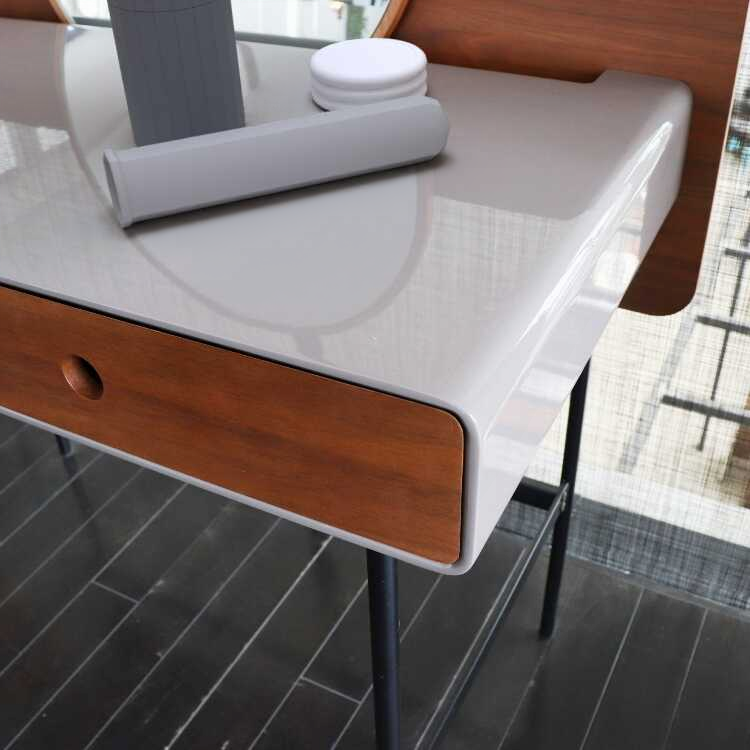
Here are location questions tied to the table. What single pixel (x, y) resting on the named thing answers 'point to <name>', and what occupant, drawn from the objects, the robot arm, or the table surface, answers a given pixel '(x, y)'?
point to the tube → (272, 157)
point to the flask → (178, 67)
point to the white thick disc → (366, 72)
